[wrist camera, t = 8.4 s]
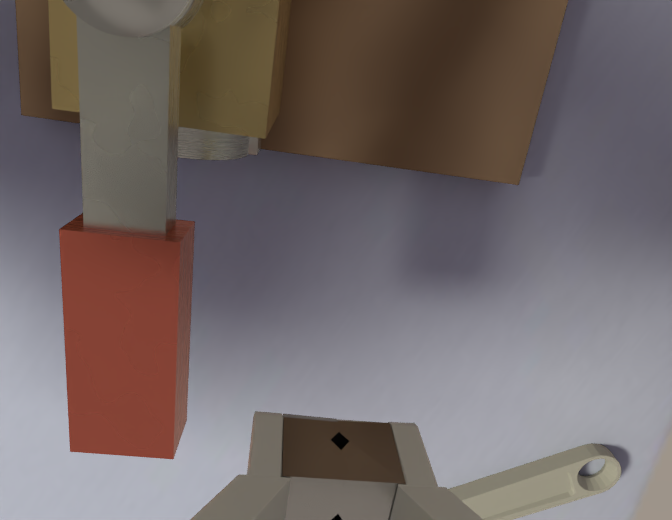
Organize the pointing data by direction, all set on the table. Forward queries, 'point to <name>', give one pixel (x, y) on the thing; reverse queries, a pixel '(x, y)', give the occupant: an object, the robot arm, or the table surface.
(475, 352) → the table surface
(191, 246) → the valve lever
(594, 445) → the adjustable wrench
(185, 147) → the pipe manifold
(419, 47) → the base board
